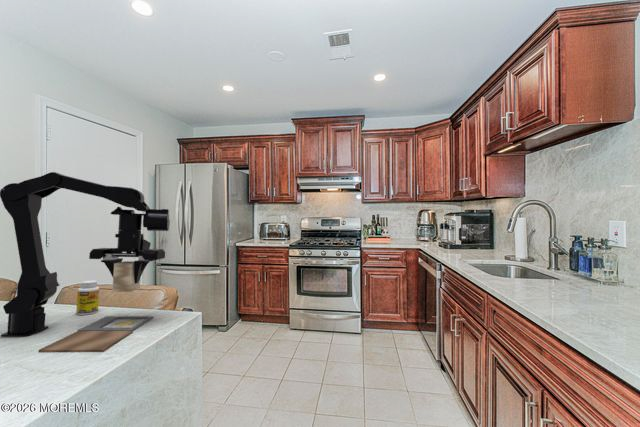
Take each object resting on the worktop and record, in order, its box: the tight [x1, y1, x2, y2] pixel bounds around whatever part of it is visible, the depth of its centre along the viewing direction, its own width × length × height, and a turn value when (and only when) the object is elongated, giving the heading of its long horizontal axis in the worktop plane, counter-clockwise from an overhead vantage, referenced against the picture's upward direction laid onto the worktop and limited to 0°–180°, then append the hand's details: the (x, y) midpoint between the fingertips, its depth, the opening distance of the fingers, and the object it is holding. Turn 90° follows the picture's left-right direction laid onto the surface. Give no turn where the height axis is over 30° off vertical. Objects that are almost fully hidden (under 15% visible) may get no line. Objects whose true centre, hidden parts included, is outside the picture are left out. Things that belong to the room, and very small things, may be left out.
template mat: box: [77, 315, 154, 332], centre depth 85 cm, size 14×12×1 cm
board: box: [37, 330, 134, 353], centre depth 72 cm, size 14×12×1 cm
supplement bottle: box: [76, 280, 100, 316], centre depth 95 cm, size 6×6×10 cm
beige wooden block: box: [112, 260, 142, 293], centre depth 86 cm, size 5×5×8 cm
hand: (127, 283), depth 86 cm, fingers closed on beige wooden block, 5 cm apart
